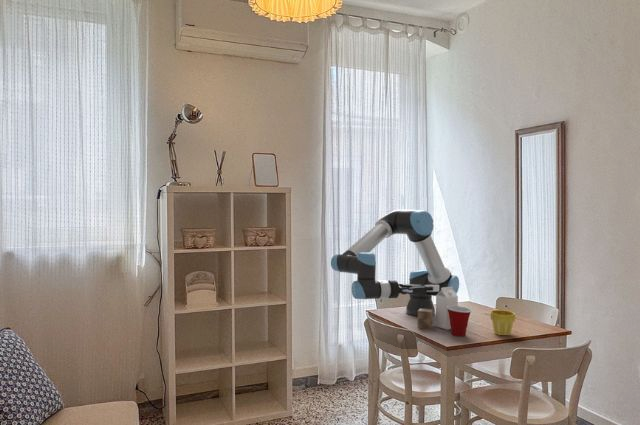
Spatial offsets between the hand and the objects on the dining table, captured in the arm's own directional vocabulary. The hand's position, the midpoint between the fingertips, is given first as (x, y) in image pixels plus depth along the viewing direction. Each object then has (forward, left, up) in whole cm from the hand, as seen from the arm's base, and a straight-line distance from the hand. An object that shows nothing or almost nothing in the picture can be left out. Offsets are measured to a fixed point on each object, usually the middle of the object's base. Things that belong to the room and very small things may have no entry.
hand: (438, 288), depth 204 cm
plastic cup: (+5, +9, -21) cm, 24 cm away
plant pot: (+19, +23, -22) cm, 37 cm away
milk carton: (-5, +17, -21) cm, 28 cm away
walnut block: (-13, +11, -21) cm, 27 cm away
